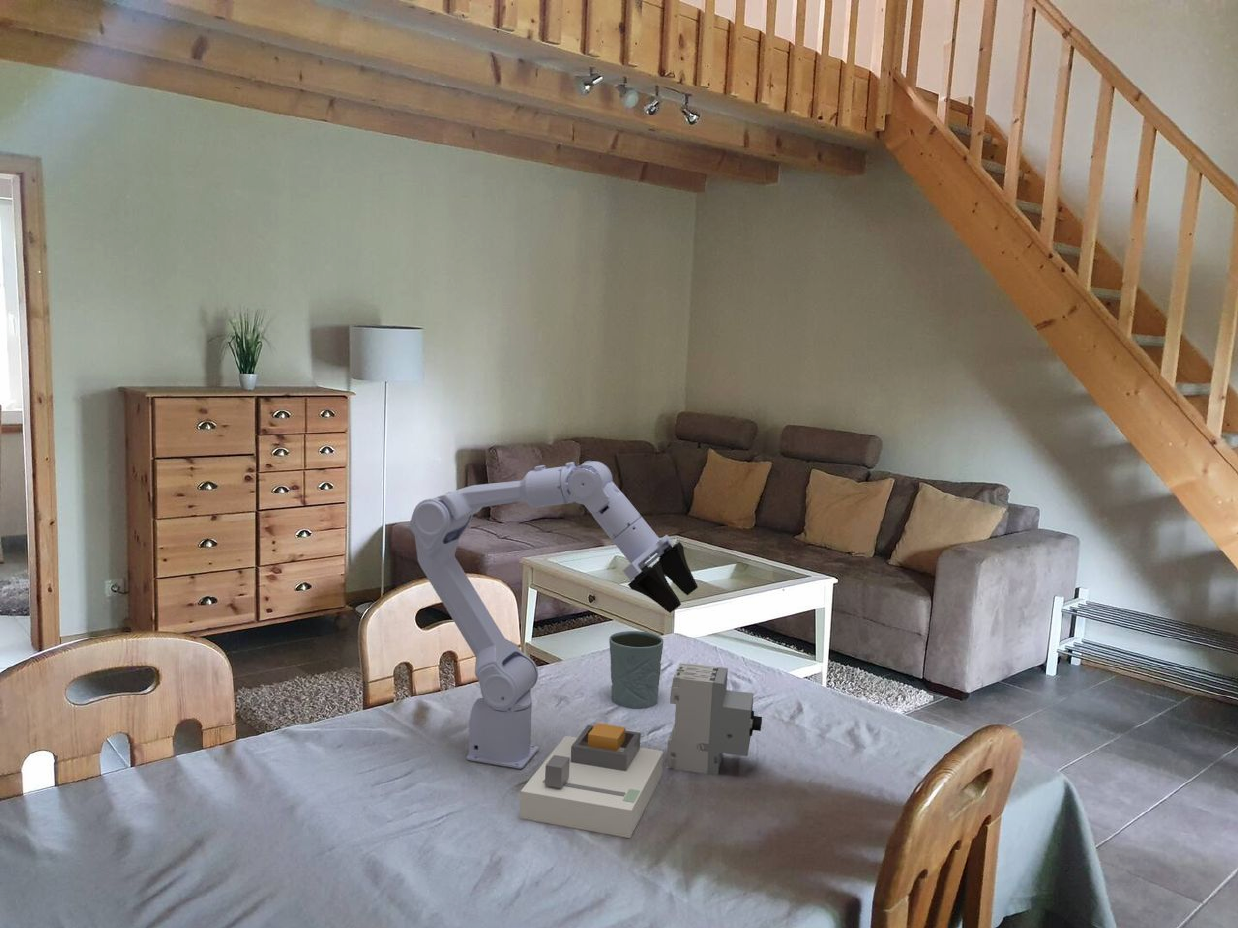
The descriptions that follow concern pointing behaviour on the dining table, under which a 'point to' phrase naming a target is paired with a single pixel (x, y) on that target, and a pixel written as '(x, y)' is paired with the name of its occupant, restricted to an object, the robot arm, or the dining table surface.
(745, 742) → the circuit breaker
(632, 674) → the green cylindrical pot
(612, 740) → the button
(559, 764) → the block
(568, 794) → the slider control box
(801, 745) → the dining table surface
